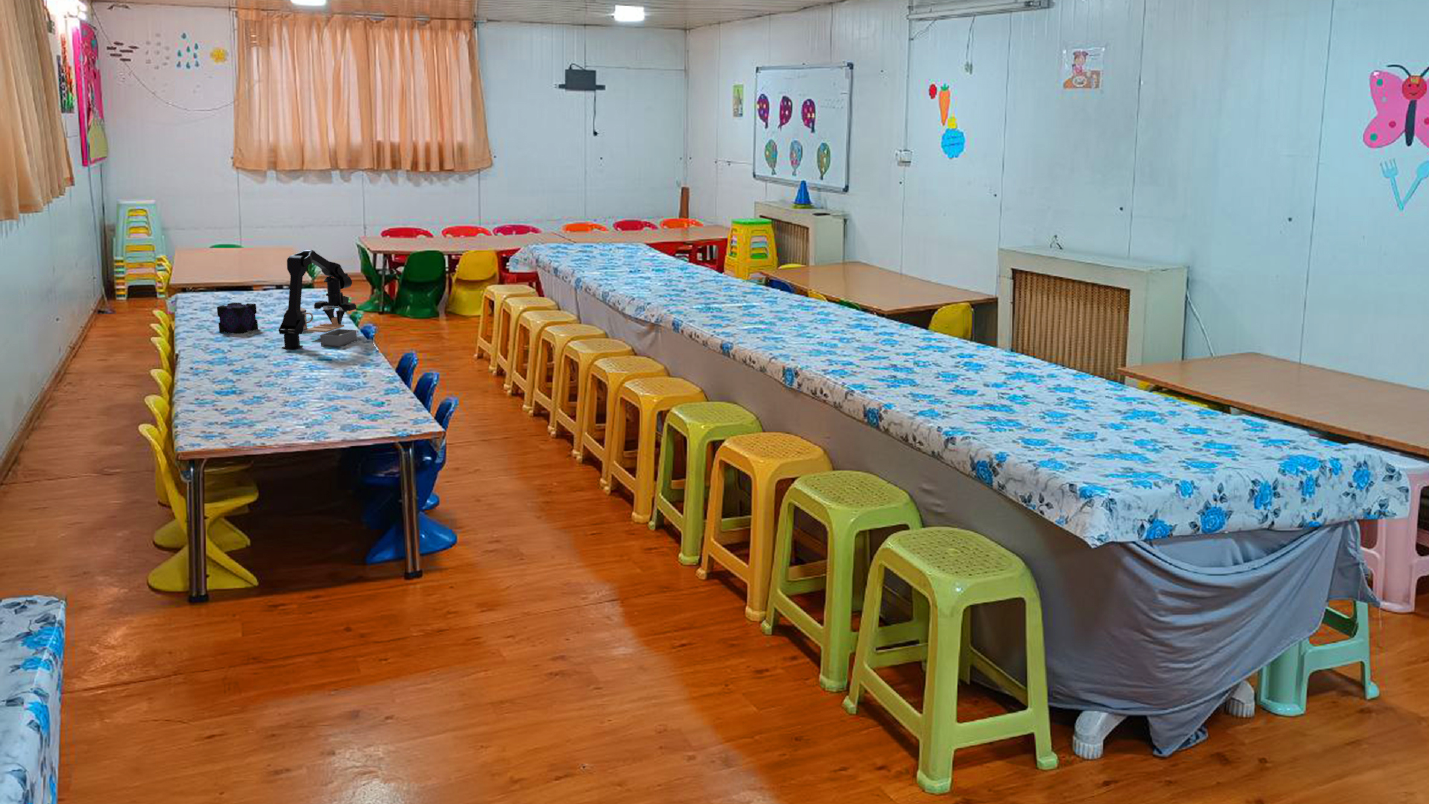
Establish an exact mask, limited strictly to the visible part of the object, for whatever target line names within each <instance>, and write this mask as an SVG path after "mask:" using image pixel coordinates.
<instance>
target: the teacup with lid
mask: <svg viewBox="0 0 1429 804" xmlns="http://www.w3.org/2000/svg"><path fill="white" fill-rule="evenodd" d="M287 310H288V308H287V309H285V312H286V311H287ZM300 310H301V312H302V314H305V324H304V328H303V331H304V330H307V329H308V324H310V323H312V322H313V320H314V315H313V313H311V312H307V309H306V308H304V307H301V308H300ZM307 315H310V317H311V318H310V319H309V320H308V321H307ZM288 330H291V329H288Z"/></svg>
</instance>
